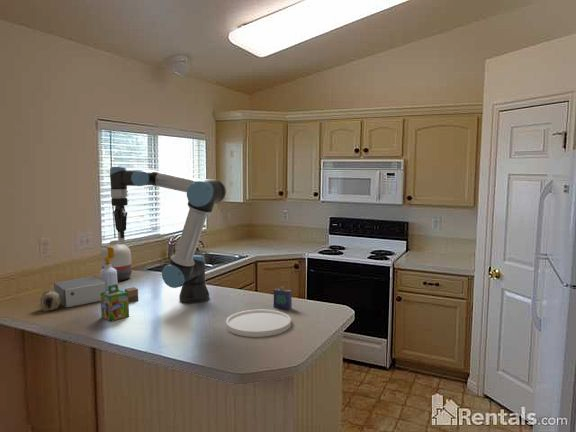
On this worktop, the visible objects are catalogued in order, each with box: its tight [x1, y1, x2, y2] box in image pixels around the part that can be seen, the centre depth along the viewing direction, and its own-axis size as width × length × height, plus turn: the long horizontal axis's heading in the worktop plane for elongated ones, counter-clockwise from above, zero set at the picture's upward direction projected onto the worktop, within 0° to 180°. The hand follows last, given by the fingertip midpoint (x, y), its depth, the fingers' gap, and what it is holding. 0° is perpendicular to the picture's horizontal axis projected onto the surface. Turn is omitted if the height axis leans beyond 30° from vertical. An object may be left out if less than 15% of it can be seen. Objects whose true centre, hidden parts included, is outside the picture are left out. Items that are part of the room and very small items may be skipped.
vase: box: [100, 239, 133, 282], centre depth 269 cm, size 17×17×24 cm
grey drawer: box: [65, 283, 107, 308], centre depth 227 cm, size 18×19×9 cm
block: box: [124, 286, 139, 303], centre depth 225 cm, size 5×5×6 cm
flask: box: [273, 286, 293, 310], centre depth 211 cm, size 9×3×11 cm, turn 68°
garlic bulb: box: [39, 289, 61, 312], centre depth 212 cm, size 9×8×10 cm
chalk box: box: [100, 284, 130, 322], centre depth 200 cm, size 9×9×15 cm
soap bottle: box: [99, 246, 119, 292], centre depth 246 cm, size 9×9×25 cm
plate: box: [225, 308, 292, 338], centre depth 189 cm, size 28×28×2 cm
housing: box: [53, 275, 106, 308], centre depth 228 cm, size 18×20×9 cm
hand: (121, 244), depth 222 cm, fingers closed
